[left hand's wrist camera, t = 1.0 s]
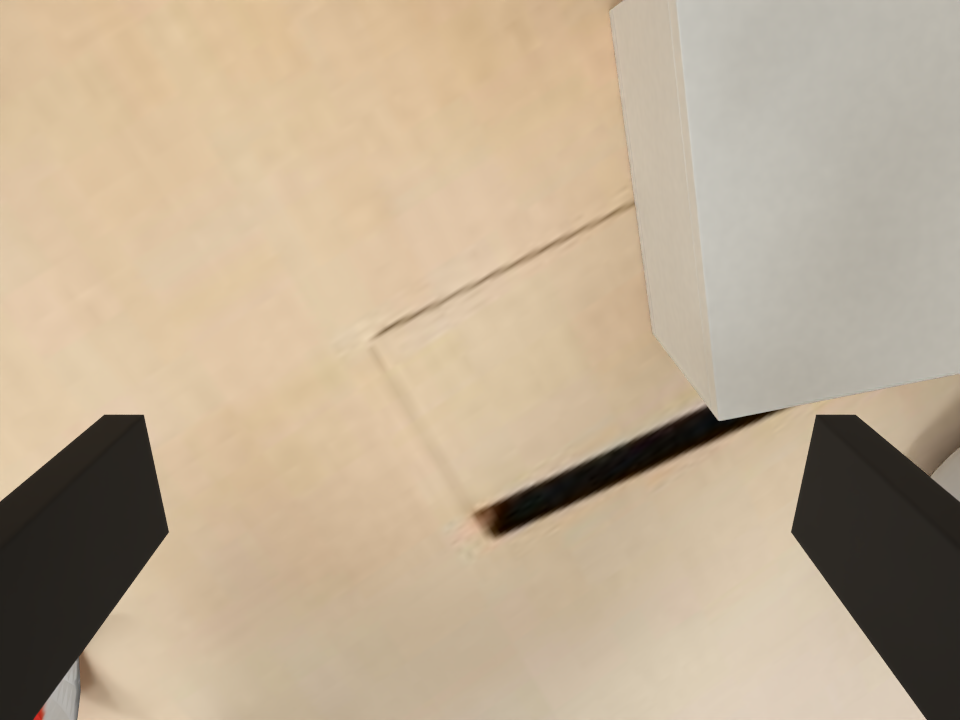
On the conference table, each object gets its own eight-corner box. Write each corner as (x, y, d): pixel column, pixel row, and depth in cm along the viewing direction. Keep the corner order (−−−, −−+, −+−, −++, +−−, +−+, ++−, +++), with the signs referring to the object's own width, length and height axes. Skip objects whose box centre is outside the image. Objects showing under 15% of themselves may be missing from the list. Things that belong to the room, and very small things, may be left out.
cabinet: (608, 10, 31) (672, -37, 21) (844, -49, 31) (1032, -129, 20) (652, 334, 38) (718, 421, 27) (850, 293, 37) (997, 366, 26)
